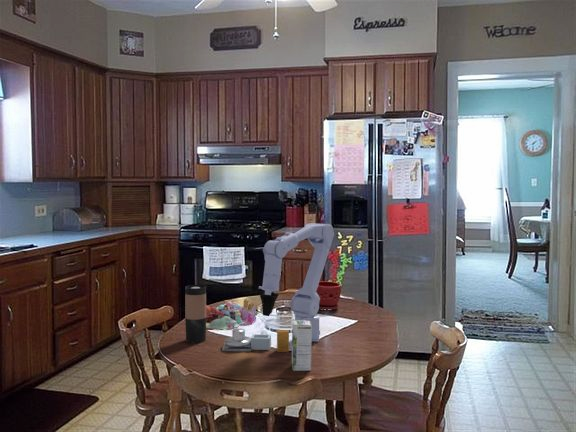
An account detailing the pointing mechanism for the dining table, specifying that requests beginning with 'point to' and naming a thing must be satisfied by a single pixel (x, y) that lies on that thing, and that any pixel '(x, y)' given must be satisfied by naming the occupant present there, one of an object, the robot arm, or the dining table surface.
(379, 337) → the dining table surface
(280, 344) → the wedge
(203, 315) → the travel mug
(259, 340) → the bracket head
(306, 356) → the syrup box
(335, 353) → the dining table surface
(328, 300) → the plant pot
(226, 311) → the candy landscape model
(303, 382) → the dining table surface
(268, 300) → the robot arm
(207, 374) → the dining table surface
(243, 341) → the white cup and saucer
